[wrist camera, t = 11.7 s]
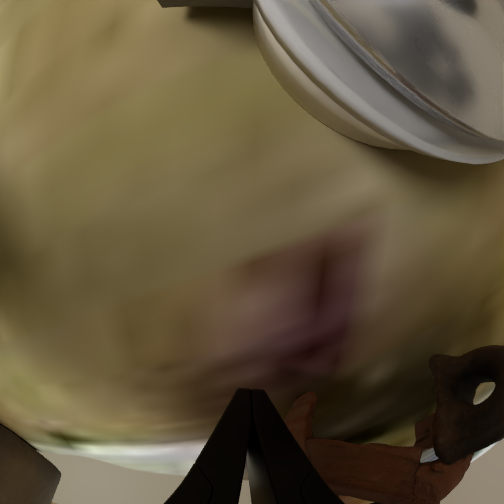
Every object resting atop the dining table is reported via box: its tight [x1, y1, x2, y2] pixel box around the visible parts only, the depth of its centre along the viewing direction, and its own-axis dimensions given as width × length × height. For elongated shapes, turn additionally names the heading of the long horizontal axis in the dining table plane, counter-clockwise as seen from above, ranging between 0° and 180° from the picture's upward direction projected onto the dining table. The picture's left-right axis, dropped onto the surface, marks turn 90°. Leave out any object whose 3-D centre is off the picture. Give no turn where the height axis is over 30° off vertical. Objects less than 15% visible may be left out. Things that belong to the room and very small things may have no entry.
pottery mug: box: [285, 345, 504, 504], centre depth 9 cm, size 12×10×8 cm
